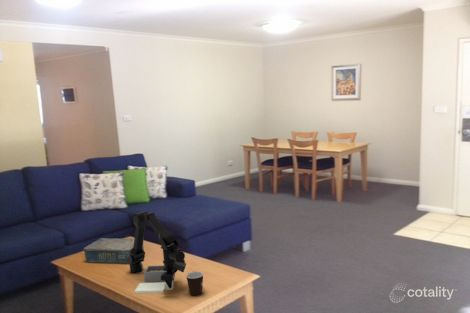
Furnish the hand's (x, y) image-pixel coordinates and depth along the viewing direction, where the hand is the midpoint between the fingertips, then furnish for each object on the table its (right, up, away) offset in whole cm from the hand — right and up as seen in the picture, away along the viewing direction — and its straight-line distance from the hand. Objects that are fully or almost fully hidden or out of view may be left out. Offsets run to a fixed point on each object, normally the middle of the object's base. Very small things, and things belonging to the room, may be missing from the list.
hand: (171, 285), depth 224 cm
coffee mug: (+14, -2, -4) cm, 15 cm away
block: (-12, 0, +14) cm, 18 cm away
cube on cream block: (-9, -3, +1) cm, 9 cm away
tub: (-9, -1, +14) cm, 16 cm away
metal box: (-44, +2, +52) cm, 68 cm away
